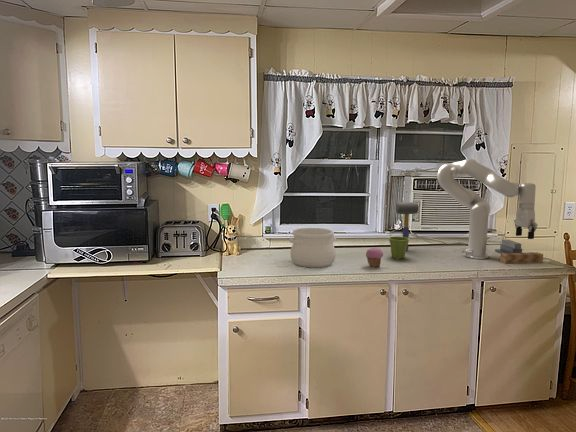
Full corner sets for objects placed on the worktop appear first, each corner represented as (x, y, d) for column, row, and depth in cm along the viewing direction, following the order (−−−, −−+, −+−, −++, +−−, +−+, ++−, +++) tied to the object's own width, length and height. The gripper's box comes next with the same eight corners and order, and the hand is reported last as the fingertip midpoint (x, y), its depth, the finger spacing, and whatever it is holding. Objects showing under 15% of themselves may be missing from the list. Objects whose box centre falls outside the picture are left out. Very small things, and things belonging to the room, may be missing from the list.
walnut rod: (505, 264, 229) (505, 255, 229) (500, 261, 234) (500, 253, 233) (542, 263, 232) (543, 254, 231) (536, 261, 236) (537, 252, 235)
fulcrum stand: (509, 257, 244) (510, 244, 242) (494, 251, 257) (495, 239, 256) (527, 256, 245) (528, 244, 244) (511, 251, 259) (512, 239, 258)
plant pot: (411, 260, 236) (412, 240, 234) (390, 260, 236) (391, 240, 234) (405, 255, 248) (406, 236, 246) (385, 255, 248) (386, 236, 246)
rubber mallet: (412, 248, 264) (415, 201, 260) (417, 251, 257) (419, 202, 252) (393, 249, 263) (395, 201, 259) (397, 251, 256) (399, 202, 251)
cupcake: (385, 266, 223) (386, 247, 221) (376, 269, 217) (377, 250, 215) (371, 263, 229) (372, 245, 227) (362, 266, 223) (362, 247, 221)
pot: (296, 270, 214) (296, 236, 211) (283, 259, 237) (284, 228, 235) (343, 267, 221) (344, 234, 218) (327, 256, 244) (327, 226, 241)
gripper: (509, 204, 236) (508, 234, 238) (531, 208, 219) (529, 240, 221) (522, 204, 237) (520, 234, 239) (544, 207, 220) (542, 239, 222)
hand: (524, 237), depth 230 cm, fingers open, 9 cm apart
